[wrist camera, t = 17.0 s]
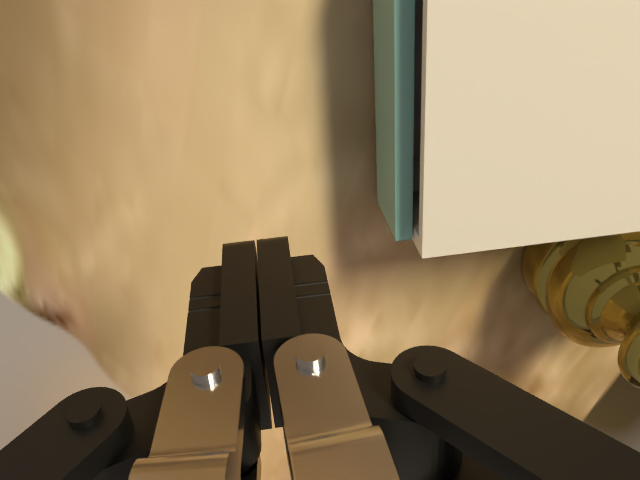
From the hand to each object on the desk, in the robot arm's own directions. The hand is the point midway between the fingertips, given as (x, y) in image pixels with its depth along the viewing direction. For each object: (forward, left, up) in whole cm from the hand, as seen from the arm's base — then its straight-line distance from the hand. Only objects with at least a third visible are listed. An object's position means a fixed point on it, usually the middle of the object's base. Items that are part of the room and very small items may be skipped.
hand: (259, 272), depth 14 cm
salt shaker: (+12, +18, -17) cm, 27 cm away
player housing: (0, +12, -16) cm, 20 cm away
